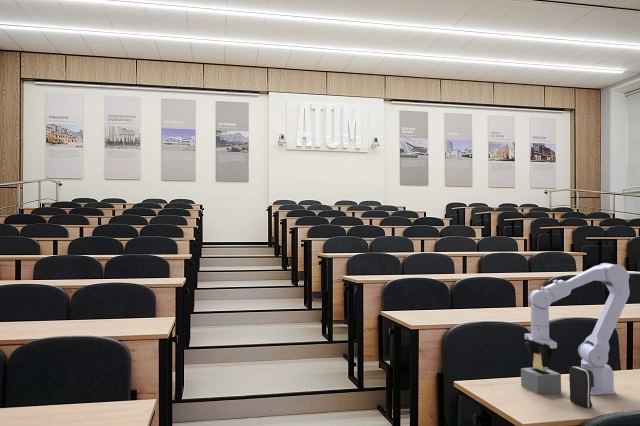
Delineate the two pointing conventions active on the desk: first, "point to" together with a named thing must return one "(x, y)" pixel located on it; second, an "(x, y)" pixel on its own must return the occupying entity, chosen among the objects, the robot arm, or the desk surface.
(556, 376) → the coin box
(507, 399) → the desk surface
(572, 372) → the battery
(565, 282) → the robot arm
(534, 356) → the beige flat block
